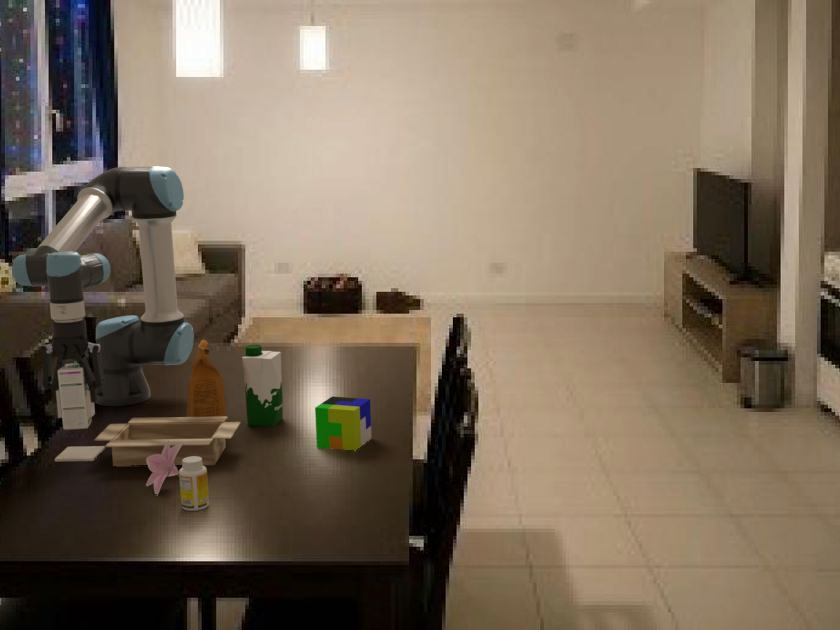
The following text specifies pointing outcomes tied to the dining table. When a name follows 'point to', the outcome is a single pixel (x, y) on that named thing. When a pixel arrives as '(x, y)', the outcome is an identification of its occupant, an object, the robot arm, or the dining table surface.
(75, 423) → the syrup box
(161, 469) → the lily
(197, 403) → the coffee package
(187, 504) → the supplement bottle
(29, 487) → the dining table surface
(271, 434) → the dining table surface
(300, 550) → the dining table surface
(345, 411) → the puzzle toy
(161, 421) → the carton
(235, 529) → the dining table surface
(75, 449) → the plate
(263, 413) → the milk carton
